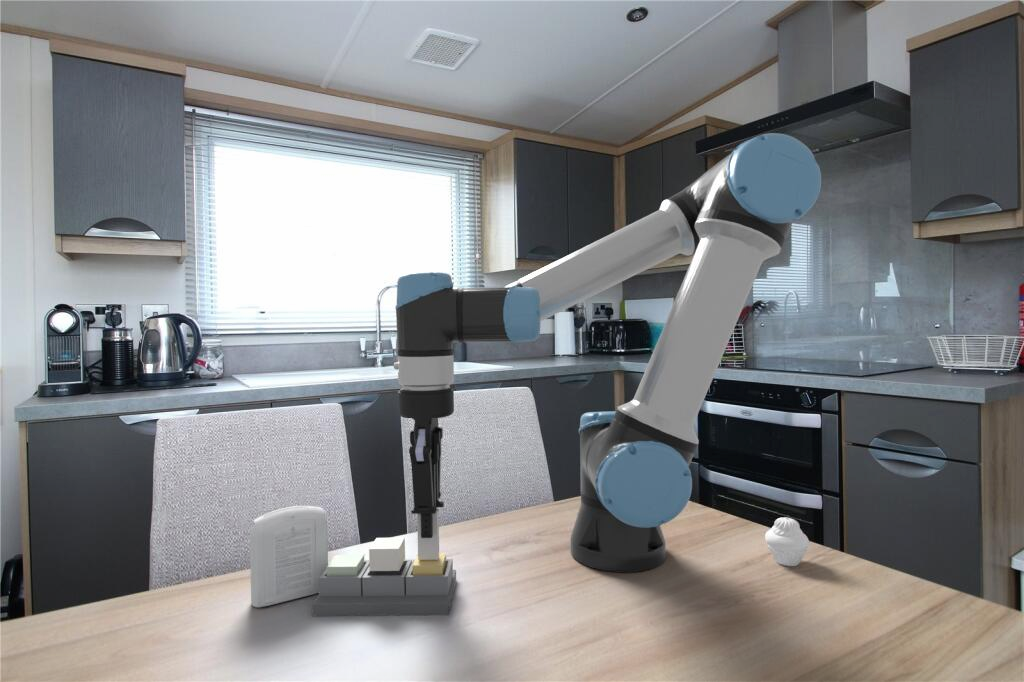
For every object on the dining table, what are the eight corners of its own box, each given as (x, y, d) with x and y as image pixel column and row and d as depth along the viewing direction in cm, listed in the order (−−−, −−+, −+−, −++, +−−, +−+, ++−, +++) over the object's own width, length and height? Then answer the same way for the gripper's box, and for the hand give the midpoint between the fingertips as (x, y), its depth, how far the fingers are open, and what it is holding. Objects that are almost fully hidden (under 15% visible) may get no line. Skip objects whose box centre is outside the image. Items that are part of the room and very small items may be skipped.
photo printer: (324, 580, 85) (322, 497, 84) (332, 591, 81) (330, 505, 81) (248, 599, 79) (245, 511, 79) (254, 612, 75) (251, 519, 75)
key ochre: (446, 574, 81) (446, 553, 81) (442, 587, 77) (442, 565, 77) (418, 574, 81) (417, 553, 81) (413, 587, 77) (412, 565, 77)
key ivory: (405, 558, 81) (404, 537, 81) (399, 570, 77) (398, 548, 77) (376, 558, 81) (376, 537, 81) (369, 571, 77) (369, 549, 77)
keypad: (456, 579, 84) (455, 552, 84) (447, 614, 74) (447, 584, 74) (336, 581, 84) (335, 554, 84) (312, 616, 74) (311, 585, 74)
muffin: (795, 553, 91) (795, 510, 91) (817, 570, 85) (817, 523, 85) (757, 554, 91) (757, 511, 91) (776, 571, 85) (776, 524, 85)
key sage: (364, 575, 81) (364, 554, 81) (356, 588, 77) (356, 566, 77) (336, 575, 81) (335, 554, 81) (327, 588, 77) (326, 566, 77)
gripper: (407, 382, 85) (410, 539, 85) (387, 392, 72) (391, 578, 72) (458, 381, 85) (460, 539, 85) (447, 392, 72) (450, 578, 72)
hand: (428, 557), depth 79 cm, fingers closed
